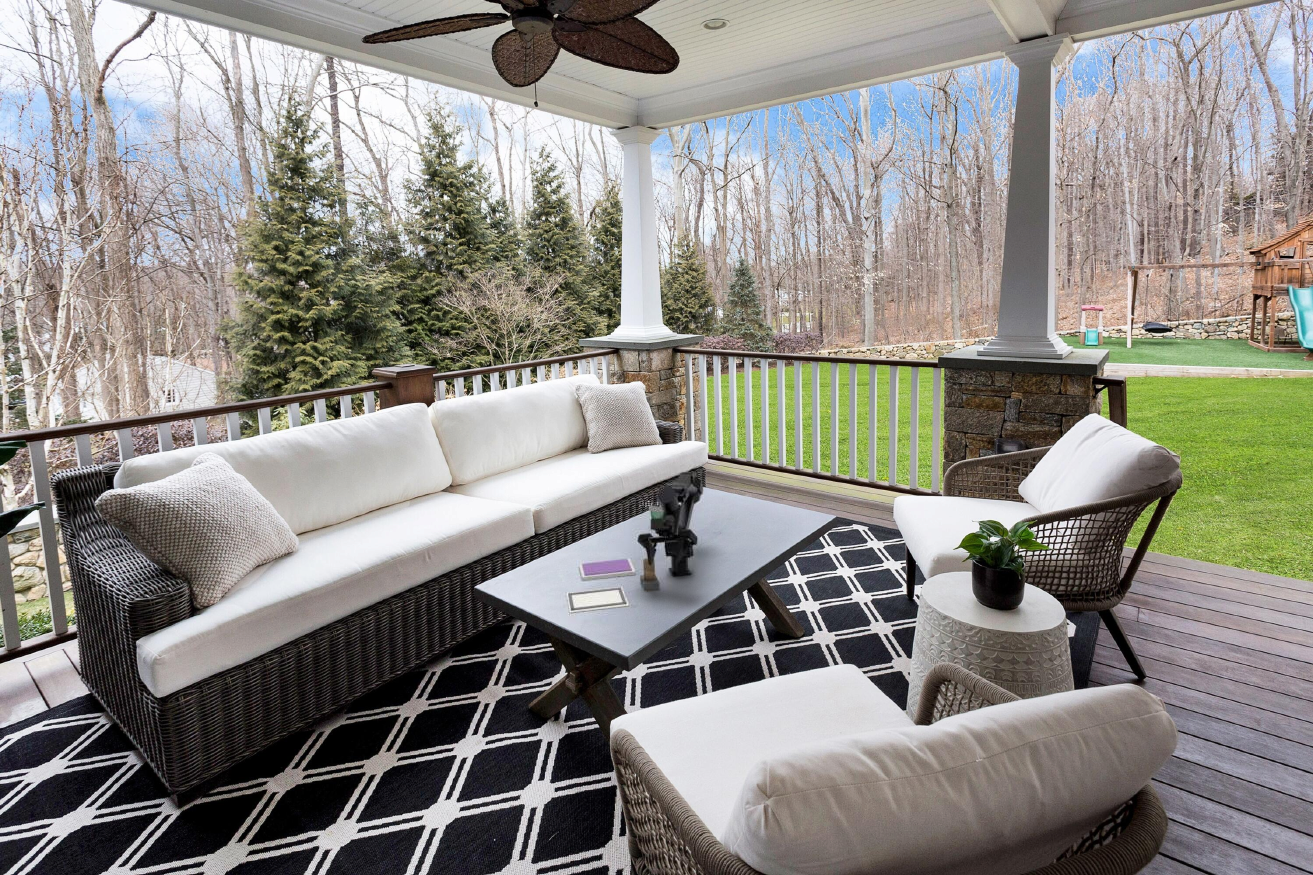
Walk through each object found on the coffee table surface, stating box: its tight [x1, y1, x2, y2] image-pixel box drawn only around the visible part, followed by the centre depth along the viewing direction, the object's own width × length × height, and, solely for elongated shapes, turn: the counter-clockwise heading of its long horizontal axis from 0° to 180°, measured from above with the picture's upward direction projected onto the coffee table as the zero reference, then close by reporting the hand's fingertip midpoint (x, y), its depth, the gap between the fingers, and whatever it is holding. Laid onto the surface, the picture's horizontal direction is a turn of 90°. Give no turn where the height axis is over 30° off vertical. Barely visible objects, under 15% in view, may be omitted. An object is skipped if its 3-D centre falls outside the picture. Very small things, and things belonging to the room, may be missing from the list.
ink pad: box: [578, 558, 636, 582], centre depth 238 cm, size 12×18×2 cm, turn 101°
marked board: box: [566, 586, 630, 614], centre depth 215 cm, size 14×18×1 cm
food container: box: [648, 504, 663, 520], centre depth 278 cm, size 12×6×10 cm, turn 112°
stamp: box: [639, 557, 660, 592], centre depth 224 cm, size 7×5×9 cm
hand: (663, 563), depth 211 cm, fingers open, 9 cm apart
